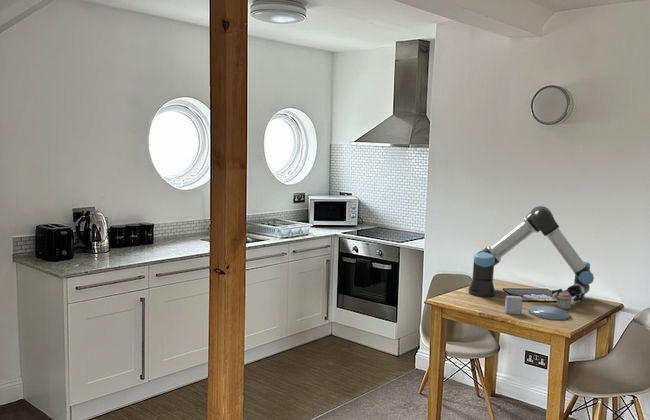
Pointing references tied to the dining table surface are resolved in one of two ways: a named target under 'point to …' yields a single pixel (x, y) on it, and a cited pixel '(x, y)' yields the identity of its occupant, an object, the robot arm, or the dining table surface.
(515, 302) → the medicine box
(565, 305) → the cupcake
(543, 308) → the dish
